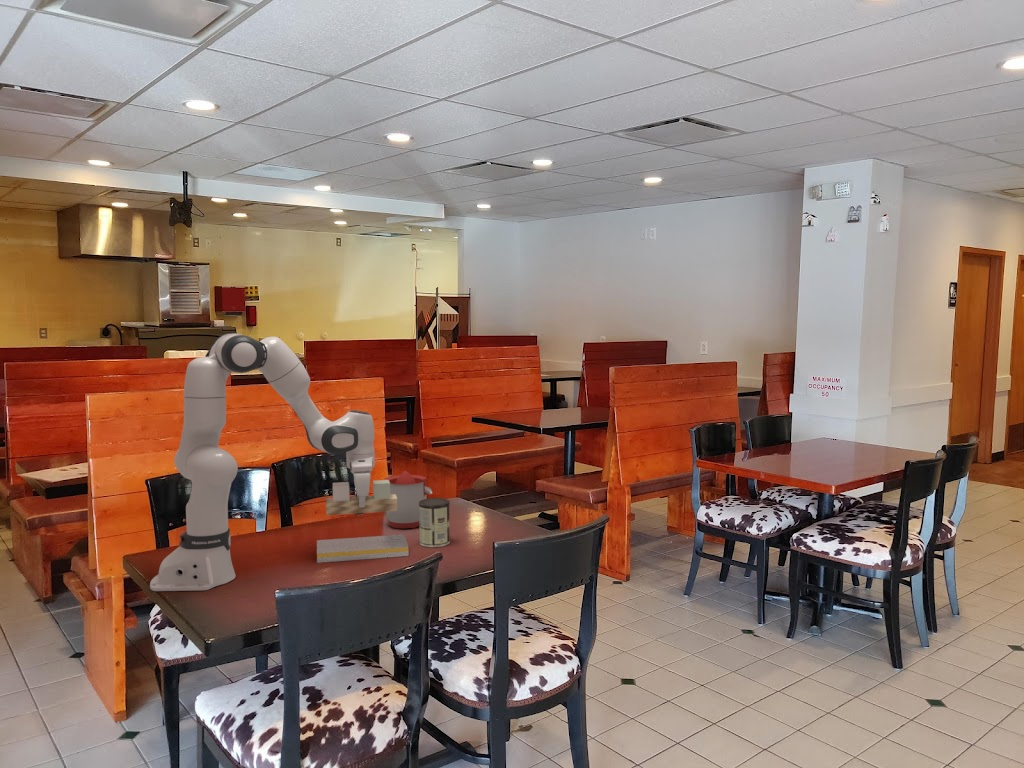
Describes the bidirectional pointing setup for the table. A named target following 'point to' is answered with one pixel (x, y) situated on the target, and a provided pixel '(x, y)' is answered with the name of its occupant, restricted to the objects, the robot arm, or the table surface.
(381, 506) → the checkered beige brown block
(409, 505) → the citrus juicer
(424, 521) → the coffee can
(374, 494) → the pale green cube
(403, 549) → the dock
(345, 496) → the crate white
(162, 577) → the robot arm
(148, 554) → the table surface
